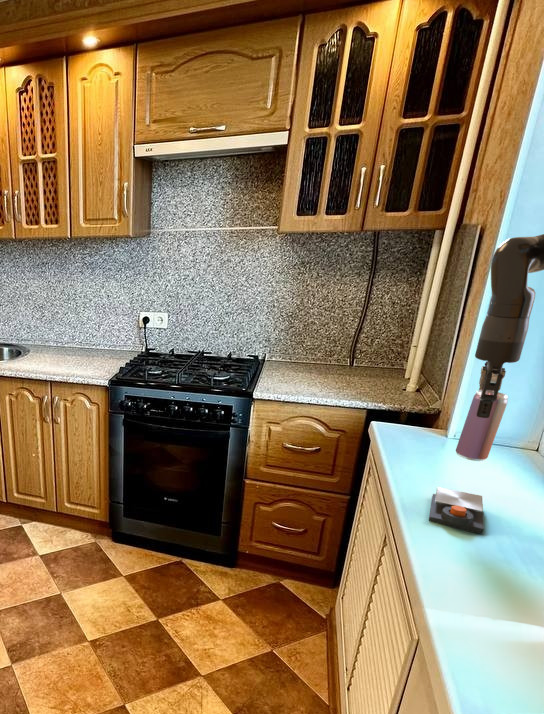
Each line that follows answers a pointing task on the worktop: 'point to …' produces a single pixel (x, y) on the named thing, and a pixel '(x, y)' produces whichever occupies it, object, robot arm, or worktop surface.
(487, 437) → the beverage can
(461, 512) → the button
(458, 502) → the scale pan
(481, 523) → the scale
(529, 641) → the worktop surface
